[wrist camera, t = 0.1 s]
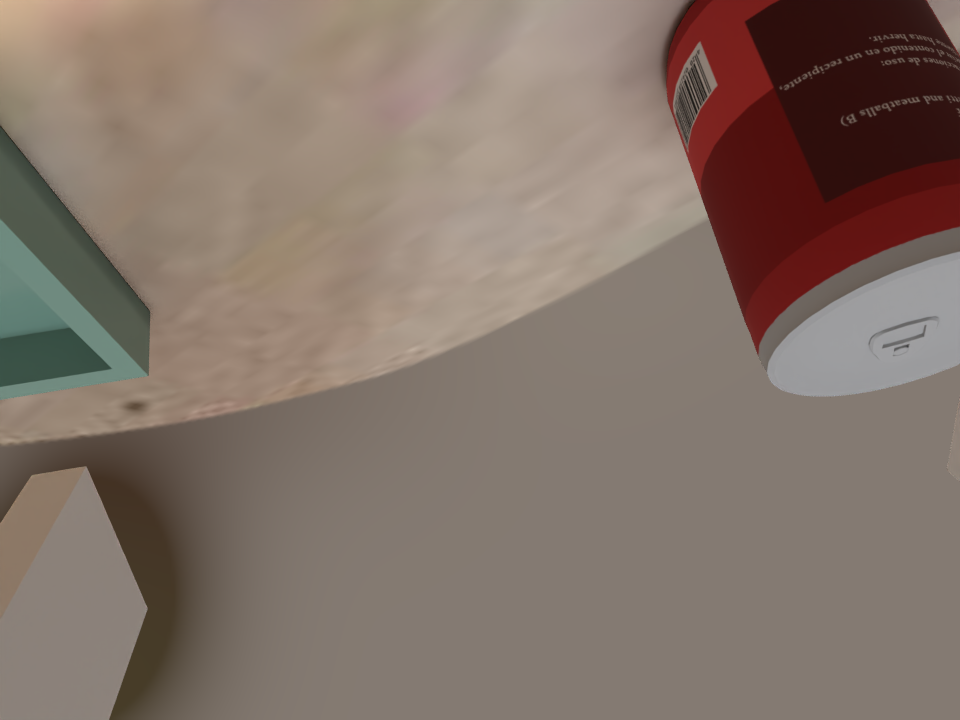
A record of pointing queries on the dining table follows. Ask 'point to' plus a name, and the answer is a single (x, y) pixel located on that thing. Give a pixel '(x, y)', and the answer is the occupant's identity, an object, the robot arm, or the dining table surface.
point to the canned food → (829, 181)
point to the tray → (59, 294)
